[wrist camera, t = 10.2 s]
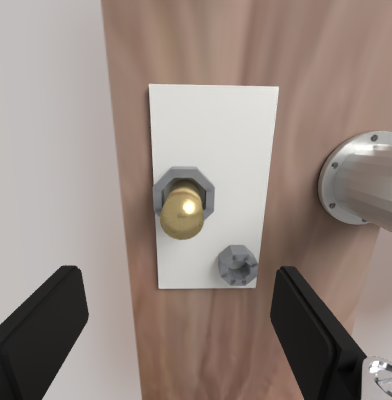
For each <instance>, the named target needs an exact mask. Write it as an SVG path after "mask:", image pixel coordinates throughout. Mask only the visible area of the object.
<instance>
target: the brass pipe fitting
mask: <svg viewBox="0 0 392 400" xmlns="http://www.w3.org/2000/svg"><path fill="white" fill-rule="evenodd" d="M160 224H161V227H162V229H163V231H164V232H165V233H166V234H167V235H168V236H170V237H172V238H174V239H178V240H186V239H190V238H192V237H194V236H196V235H197V234H198V233H199V232H200V231H201V229H202V227H203V224H204V214H203V208H202V202H201V197H200V191H199V188H198V186H197V185H196V184H195V183H194V182H193V181H191V180H187V179H182V180H179V181H177V182H175V183H174V184H173V185H172V187H171V189H170V191H169V194H168V196H167V199H166V201H165V204H164V206H163V208H162V211H161V214H160Z"/></svg>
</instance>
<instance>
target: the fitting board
mask: <svg viewBox="0 0 392 400" xmlns="http://www.w3.org/2000/svg"><path fill="white" fill-rule="evenodd" d="M278 91H279V87H268V86H220V85H172V84H149V96H150V117H151V138H152V158H153V179H154V186H153V207H154V212H155V221H156V242H157V262H158V283H159V289H182V288H256V280H257V272H258V263H259V254H260V246H261V237H262V229H263V220H264V212H265V203H266V194H267V186H268V177H269V169H270V160H271V151H272V143H273V134H274V126H275V117H276V109H277V100H278ZM182 179H187V180H191V181H193V182H194V183H195V184H196V185H197V186H198V188H199V191H200V197H201V202H202V208H203V214H204V224H203V227H202V229H201V231H200V232H199V233H198V234H197V235H196V236H194V237H192V238H190V239H186V240H178V239H174V238H172V237H170V236H168V235H167V234H166V233H165V232H164V231H163V229H162V227H161V224H160V214H161V211H162V208H163V206H164V204H165V201H166V199H167V196H168V194H169V191H170V189H171V187H172V185H173V184H174V183H175V182H177V181H179V180H182Z"/></svg>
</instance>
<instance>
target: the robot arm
mask: <svg viewBox="0 0 392 400" xmlns="http://www.w3.org/2000/svg"><path fill="white" fill-rule="evenodd" d="M318 194H319V199H320V201H321V204H322V206H323V207H324V209H325V210H326V212H328V213H329V214H330V215H331V216H332V217H334V218H336V219H337V220H339V221H342V222H344V223H348V224H353V225H362V224H368V223H373V224H375V225H377V226H379V227H382V228H384V229H386V230H388V231H390V232H392V132H386V131H371V132H366V133H361V134H359V135H356V136H354V137H352V138H350V139H348V140H346V141H345V142H343V143H342V144H341V145H340V146H338V147H337V148H336V149H335V150H334V151H333V152H332V154H331V155H330V156H329V157H328V159H327V161H326V162H325V164H324V166H323V168H322V170H321V173H320V177H319V181H318ZM88 315H89V313H88V307H87V302H86V296H85V290H84V284H83V279H82V273H81V270H80V269H78V268H77V266H61V267H60V268H59V269H58V270H57V271H56V272H55V273H54V274H53V275H52V276H51V277H50V278H48V279H47V280H46V281H45V282H44V283H43V284H42V285H41V286H40V287H39V288H38V289H37V290H36V291H35V292H34V293H33V294H32V295H31V296H30V297H29V298H28V299H27V300H26V301H25V302H23V304H21V306H19V307H18V308H17V309H16V310H15V311H14V312H13V313H12V314H11V315H10V316H9V317H8V318H7V319H6V320H5V321H4V322H3V323H2V324H1V325H0V400H42V398H43V397H44V395H45V393H46V392H47V390H48V388H49V386H50V385H51V383H52V381H53V380H54V378H55V376H56V374H57V373H58V371H59V369H60V368H61V366H62V364H63V362H64V361H65V359H66V357H67V356H68V354H69V352H70V350H71V349H72V347H73V345H74V344H75V342H76V340H77V338H78V337H79V335H80V333H81V332H82V330H83V328H84V326H85V324H86V323H87V321H88ZM270 318H271V322H272V325H273V327H274V329H275V332H276V334H277V336H278V339H279V341H280V343H281V346H282V348H283V350H284V353H285V355H286V357H287V360H288V362H289V364H290V367H291V369H292V371H293V374H294V376H295V378H296V381H297V383H298V385H299V388H300V390H301V393H302V395H303V397H304V400H392V362H391V361H389V360H386V359H384V358H381V357H376V356H372V357H367V356H366V355H365V353H364V352H363V351H362V350H361V349H360V347H359V346H358V345H357V343H356V342H355V341H354V340H353V338H352V337H351V336H350V335H349V333H348V332H347V331H346V330H345V328H344V327H343V326H342V325H341V323H340V322H339V321H338V320H337V318H336V317H335V316H334V315H333V313H332V312H331V311H330V310H329V308H328V307H327V306H326V305H325V303H324V302H323V301H322V300H321V299H320V298H319V297H318V295H317V294H316V293H315V291H314V290H313V289H312V288H311V286H310V285H309V284H308V283H307V281H306V280H305V279H304V278H303V276H302V275H301V274H300V273H299V271H298V270H297V269H296V268H295V267H293V266H282V267H281V268H280V270H277V272H276V279H275V285H274V292H273V299H272V306H271V312H270Z"/></svg>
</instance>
